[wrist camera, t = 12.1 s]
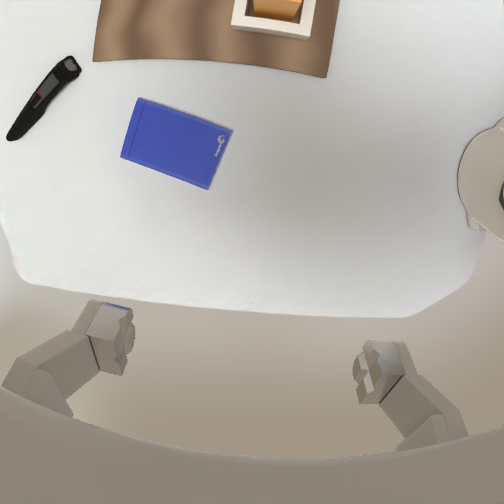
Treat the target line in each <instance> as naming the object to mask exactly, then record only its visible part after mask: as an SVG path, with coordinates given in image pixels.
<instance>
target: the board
mask: <svg viewBox="0 0 504 504" xmlns="http://www.w3.org/2000/svg"><path fill="white" fill-rule="evenodd" d="M234 3H235V0H101V5H100V10H99V16H98V22H97V28H96V35H95V43H94V51H93V60H92V62H100V61H112V60H130V59H189V60H207V61H220V62H231V63H240V64H248V65H256V66H263V67H270V68H276V69H282V70H288V71H293V72H298V73H303V74H308V75H313V76H317V77H322V78H326V77H327V71H328V66H329V60H330V55H331V49H332V43H333V37H334V31H335V25H336V19H337V13H338V7H339V0H316V3H315V9H314V15H313V21H312V27H311V33H310V37H309V38H308V39H307V40H301V39H296V38H291V37H285V36H280V35H273V34H267V33H260V32H252V31H243V30H233V28H232V26H231V20H232V15H233V9H234ZM300 6H301V4H300ZM300 6H299V8H298V10H297V12H296V14H295V15H294V17H293V19H292V21H291V23H296V24H297V23H298V18H299V12H300ZM247 16H250V17H256V16H255V14H254V3H253V0H249V5H248V11H247ZM258 18H264V17H258ZM266 19H271V18H266ZM273 20H277V19H273ZM279 21H283V20H279ZM285 22H289V21H285Z"/></svg>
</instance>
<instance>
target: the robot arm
mask: <svg viewBox="0 0 504 504" xmlns="http://www.w3.org/2000/svg"><path fill="white" fill-rule="evenodd" d="M458 190H459V195H460V198H461V201H462V203H463V205H464V207H465V209H466V211H467V219H468V225H469V227H470V228H471V229H473V230H487V231H489V232H490V233H491V234H492V235H494V236H495V237H496V238H497V239H498V240H500V241H501V242H504V118H503V119H501V120H500V121H499V122H498V123H497V124H496V125H495V127H493V128H491V129H488V130H485V131H483V132H481V133H480V134H478V135H477V136H476V137H475V138H474V139H473V140H472V141H471V142H470V143H469V145H468V147H467V148H466V150H465V152H464V154H463V157H462V159H461V163H460V167H459V172H458ZM132 319H133V311H132V309H131V308H127V307H123V306H119V305H115V304H110V303H107V302H101V301H98V300H94V299H91V300H90V301H89V302H88V303H87V305H86V306H85V308H84V310H83V311H82V313H81V315H80V316H79V318H78V320H77V321H76V323H75V325H74V327H73V328H72V330H71V331H69V330H67V331H65V332H63V333H61V334H59V335H57V336H56V337H54V338H52V339H50V340H48V341H47V342H45V343H43V344H41V345H39V346H38V347H36V348H34V349H33V350H31V351H29V352H27V353H25V354H24V355H22V356H20V357H18V358H17V359H16V360H15V362H14V364H13V366H12V367H11V369H10V371H9V372H8V374H7V376H6V378H5V380H4V381H3V383H2V385H1V386H0V504H504V425H502V426H499V427H496V428H493V429H490V430H487V431H484V432H481V433H477V434H474V435H471V436H469V435H468V432H467V430H466V427H465V424H464V421H463V418H462V416H461V413H460V410H459V409H458V408H457V407H456V406H454V405H453V404H452V403H451V402H450V401H449V400H448V399H447V398H446V397H445V396H444V395H443V394H442V393H440V392H439V391H438V390H437V389H436V388H435V387H434V386H433V385H432V384H431V383H430V382H428V381H427V380H426V379H425V378H424V377H423V376H422V375H418V374H417V371H416V368H415V366H414V363H413V361H412V358H411V356H410V353H409V351H408V349H407V346H406V344H405V343H404V342H396V341H392V342H391V341H371V340H368V341H367V342H365V344H364V346H363V352H362V353H360V354H359V355H357V357H356V359H355V361H354V365H353V377H354V380H355V381H356V382H357V383H358V384H359V385H358V387H357V389H356V391H357V395H358V399H359V404H379V406H380V407H381V408H382V409H383V411H384V412H385V413H386V415H387V416H388V417H389V418H390V419H391V421H392V422H393V423H394V425H395V426H396V427H397V428H398V430H399V431H400V432H401V434H402V435H403V436H404V438H405V439H404V440H403V441H402V442H401V443H400V444H398V445H397V447H396V448H395V449H396V452H389V453H382V454H373V455H363V456H353V457H352V456H351V457H338V458H337V457H336V458H269V457H252V456H241V455H231V454H222V453H214V452H207V451H200V450H193V449H187V448H182V447H176V446H171V445H166V444H161V443H157V442H152V441H148V440H144V439H140V438H136V437H132V436H128V435H124V434H121V433H117V432H114V431H111V430H107V429H104V428H100V427H98V426H94V425H91V424H88V423H85V422H83V421H80V420H77V419H74V418H72V417H73V412H72V410H71V409H70V407H69V405H68V404H67V402H66V399H67V398H68V397H69V396H71V395H72V394H73V393H74V392H76V391H77V390H78V389H79V388H81V387H82V386H83V385H84V384H85V383H86V382H88V381H89V380H90V379H92V378H93V377H94V376H95V375H96V374H98V373H99V371H103V372H107V373H111V374H115V375H120V376H122V374H123V372H124V369H125V366H126V364H127V357H126V354H128V353H130V352H131V351H132V348H133V345H134V340H135V326H134V325H133V323H131V321H132Z"/></svg>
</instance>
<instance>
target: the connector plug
mask: <svg viewBox="0 0 504 504" xmlns="http://www.w3.org/2000/svg"><path fill="white" fill-rule="evenodd" d="M301 2H302V0H253V3H254V14H255V16H256V17H264V18H271V19H277V20H283V21H289V22H291V21H292V19H293V17H294V15H295V14H296V12H297V10H298V8H299V6H300V4H301Z"/></svg>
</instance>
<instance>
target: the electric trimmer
mask: <svg viewBox="0 0 504 504" xmlns="http://www.w3.org/2000/svg"><path fill="white" fill-rule="evenodd" d="M81 70H82V69H81V68H80V66H79V65H78V63H77V62H76V60H75V59H74V57H73V56H67V57H66V58H64V59H63V60H61V61H60V62H59V63H57V65H56V66H55V67H54V68H53V69H52V70H51V71H50V72H49V74H48V75H47V76H46V77H45V79H44V80H43V81H42V83H41V84H40V85H39V86H38V88H37V89H36V91H35V92H34V93H33V95H32V96H31V98H30V99H29V101H28V102H27V104H26V105H25V107H24V108H23V110H22V111H21V113H20V114H19V116H18V117H17V119H16V121H15V122H14V124H13V125H12V127H11V129H10V130H9V132H8V134H7V136H6V139H7V140H8V141H15V140H18V139H20V138H21V137H22V136H23V135H24V134H25V133H26V132H27V130H28V129H29V128H30V127H31V126H32V125H33V124H34V123H35V122H36V121H37V120H38V119H39V118H40V117H41V116H42V115H43V113H44V108H45V106H46V105H47V104H48V102H49V101H50V100H51V99H52V98H53V97H54V95H55V94H56V93H57V92H58V91H59V90H60V89H61V88H62V87H63V86H64V85H65V84H66V83H67V82H70V81H72V80H74V79H75V78H77V77H78V76H79V72H80V71H81Z"/></svg>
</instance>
